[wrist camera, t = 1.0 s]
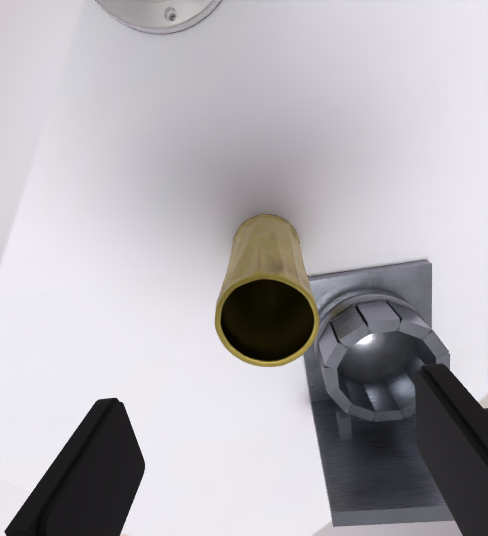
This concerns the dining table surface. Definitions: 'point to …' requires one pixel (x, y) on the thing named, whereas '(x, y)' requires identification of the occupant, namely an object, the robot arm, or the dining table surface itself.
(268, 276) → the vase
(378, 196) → the dining table surface
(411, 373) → the cup bracket
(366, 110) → the dining table surface
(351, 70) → the dining table surface
